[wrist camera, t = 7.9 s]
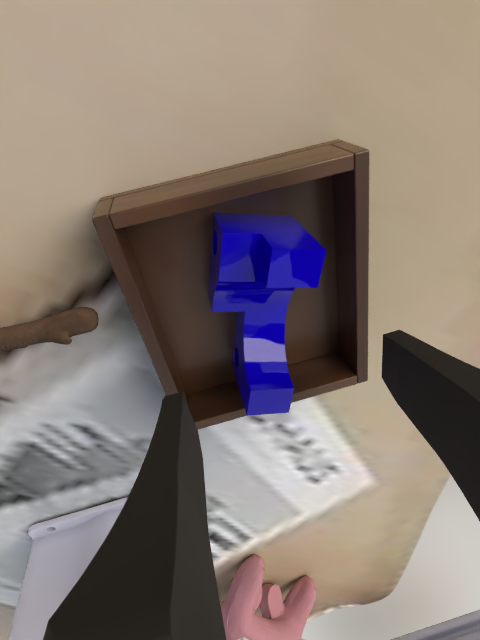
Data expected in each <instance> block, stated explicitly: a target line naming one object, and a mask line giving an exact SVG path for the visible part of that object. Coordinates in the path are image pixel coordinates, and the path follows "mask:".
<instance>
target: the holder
mask: <svg viewBox="0 0 480 640" xmlns="http://www.w3.org/2000/svg"><path fill="white" fill-rule="evenodd" d="M213 212H216V213H239V214H261V215H284V216H292V217H293V218H294V219H296V220H297V221H298V222H299V223H300V224H301V225H302V226H303V227H304V228H305V229H306V230H307V231H308V232H309V233H310V234H311V235H312V236H313V237H314V238H315V239H316V240H317V241H318V242H319V243H320V244H321V245H322V246H323V247H324V248H325V249H326V254H325V259H324V263H323V267H322V271H321V276H320V280H319V284H318V288H295V289H294V291H293V293H292V295H291V298H290V301H289V304H288V308H287V313H286V321H285V353H286V360H287V366H288V371H289V375H290V378H291V381H292V384H293V386H294V391H293V396H292V400H291V403H292V402H295V401H299V400H302V399H306V398H309V397H313V396H316V395H320V394H323V393H327V392H330V391H334V390H337V389H341V388H344V387H348V386H351V385H355V384H357V383H361V382H365V381H367V380H368V255H369V150H368V149H365V148H362V147H359V146H356V145H353V144H350V143H347V142H344V141H342V140H339V139H338V140H334V141H330V142H326V143H322V144H318V145H314V146H310V147H306V148H302V149H298V150H294V151H290V152H286V153H281V154H277V155H273V156H269V157H265V158H261V159H257V160H253V161H249V162H245V163H241V164H237V165H233V166H229V167H225V168H221V169H216V170H212V171H208V172H204V173H200V174H196V175H192V176H188V177H184V178H180V179H176V180H172V181H168V182H164V183H160V184H156V185H152V186H147V187H143V188H139V189H135V190H131V191H127V192H123V193H119V194H115V195H111V196H107V197H103V198H100V200H99V203H98V206H97V208H96V211H95V213H94V216H93V218H92V221H93V223H94V225H95V228H96V230H97V232H98V235H99V237H100V240H101V242H102V244H103V247H104V249H105V251H106V254H107V256H108V259H109V261H110V263H111V266H112V268H113V270H114V273H115V275H116V277H117V280H118V282H119V285H120V287H121V289H122V292H123V294H124V296H125V299H126V301H127V303H128V306H129V308H130V311H131V313H132V315H133V318H134V320H135V322H136V325H137V327H138V329H139V332H140V334H141V337H142V339H143V341H144V344H145V346H146V348H147V351H148V353H149V355H150V358H151V360H152V363H153V365H154V367H155V370H156V372H157V374H158V377H159V379H160V381H161V384H162V386H163V389H164V391H165V393H166V396H168V395H172V394H175V393H179V392H182V391H183V394H184V396H185V399H186V402H187V404H188V407H189V409H190V412H191V415H192V417H193V420H194V422H195V425H196V428H197V430H198V429H201V428H205V427H208V426H212V425H215V424H219V423H222V422H226V421H229V420H233V419H236V418H240V417H243V416H247V414H246V411H245V407H244V404H243V400H242V397H241V393H240V390H239V386H238V383H237V379H236V376H235V372H234V369H233V365H232V362H231V359H232V350H233V342H234V333H235V324H236V315H237V312H212V309H211V306H210V302H209V298H208V288H209V272H210V257H211V241H212V226H213Z"/></svg>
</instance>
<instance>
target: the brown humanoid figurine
mask: <svg viewBox="0 0 480 640" xmlns="http://www.w3.org/2000/svg"><path fill="white" fill-rule="evenodd" d="M97 325H98V314H97V312H96V311H95V310H94V309H92V308H88V307H79V308H74V309H70V310H67V311H64V312H61V313H58V314H56V315H53V316H50V317H47V318H43V319H40V320H36V321H33V322H29V323H24V324H20V325H15V326H10V327H4V328H0V352H1V351H7V350H13V349H17V348H25V347H27V346H29V345H33V344H37V343H44V342H54V343H59V344H70V343H71V342H72V340H71V338H70V337H72V336H75V335H79V334H83V333H87V332H91V331H93V330H94V329H96V327H97Z"/></svg>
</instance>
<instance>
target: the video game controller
mask: <svg viewBox="0 0 480 640" xmlns="http://www.w3.org/2000/svg"><path fill="white" fill-rule="evenodd" d="M263 576H264V563H263V560H262V559H261V557H259V556H257V555H252V556H251V557H249V558H248V559H247V560H245V561H244V562H243V563H242V565H241V566H240V568H239V569H238V570H237V572H236V574H235V576H234V578H233V580H232V583H231V585H230V588H229V591H228V594H227V597H226V599H225V600H224V601H223V603H222V605H221V612H222V617H223V623H224V628H225V634H226V639H227V640H301V636H302V633H303V629H304V626H305V623H306V621H307V618H308V616H309V614H310V612H311V609H312V607H313V604H314V601H315V595H316V588H315V584H314V581H313V580H312V579H311V578H310V577H308V576H304V577H302V578H300V579H299V580H298V581H297V582H296V583H295V584H294V586H293V587H292V588H291V589H290V591H289V593H288V594H287V596H286V598H285V600H284V602H283V601H282V593H281V590H280V588H279V586H278V585H273V584H264V585H263V586H262V581H263ZM259 604H260V609H261V613H262V617H261V616H259V615H257V614H256V613H255V611H256V609H257V608H258V607H259Z"/></svg>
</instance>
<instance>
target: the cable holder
mask: <svg viewBox="0 0 480 640" xmlns="http://www.w3.org/2000/svg"><path fill="white" fill-rule="evenodd" d="M325 254H326V249H325V248H324V247H323V246H322V245H321V244H320V243H319V242H318V241H317V240H316V239H315V238H314V237H313V236H312V235H311V234H310V233H309V232H308V231H307V230H306V229H305V228H304V227H303V226H302V225H301V224H300V223H299V222H298V221H297V220H296V219H294V218H293V217H292V216H284V215H261V214H239V213H216V212H213V226H212V241H211V257H210V272H209V288H208V298H209V302H210V306H211V309H212V312H237V315H236V324H235V333H234V342H233V350H232V359H231V362H232V365H233V369H234V372H235V376H236V379H237V383H238V386H239V390H240V393H241V397H242V400H243V404H244V407H245V411H246V414H247V415H261V414H274V413H287V412H289V409H290V404H291V400H292V396H293V391H294V386H293V384H292V381H291V378H290V375H289V371H288V366H287V360H286V353H285V321H286V313H287V308H288V304H289V301H290V298H291V295H292V293H293V291H294V289H295V288H318V284H319V280H320V276H321V271H322V267H323V263H324V259H325Z"/></svg>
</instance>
